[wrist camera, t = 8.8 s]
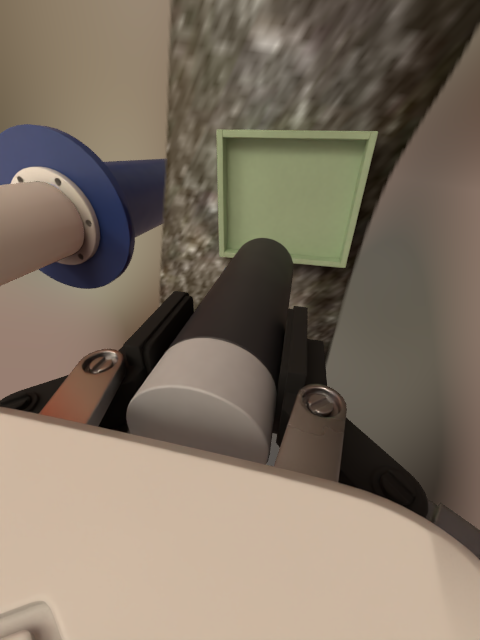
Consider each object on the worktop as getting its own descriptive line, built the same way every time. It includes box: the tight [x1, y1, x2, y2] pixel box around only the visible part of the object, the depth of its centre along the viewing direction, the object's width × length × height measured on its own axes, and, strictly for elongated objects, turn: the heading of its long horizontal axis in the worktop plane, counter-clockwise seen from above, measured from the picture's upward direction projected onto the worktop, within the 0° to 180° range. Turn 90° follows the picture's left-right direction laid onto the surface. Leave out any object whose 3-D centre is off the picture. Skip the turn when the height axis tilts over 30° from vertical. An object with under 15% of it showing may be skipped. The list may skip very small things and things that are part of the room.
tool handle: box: [126, 238, 293, 465], centre depth 13 cm, size 4×4×13 cm
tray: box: [217, 130, 378, 268], centre depth 28 cm, size 14×12×2 cm
